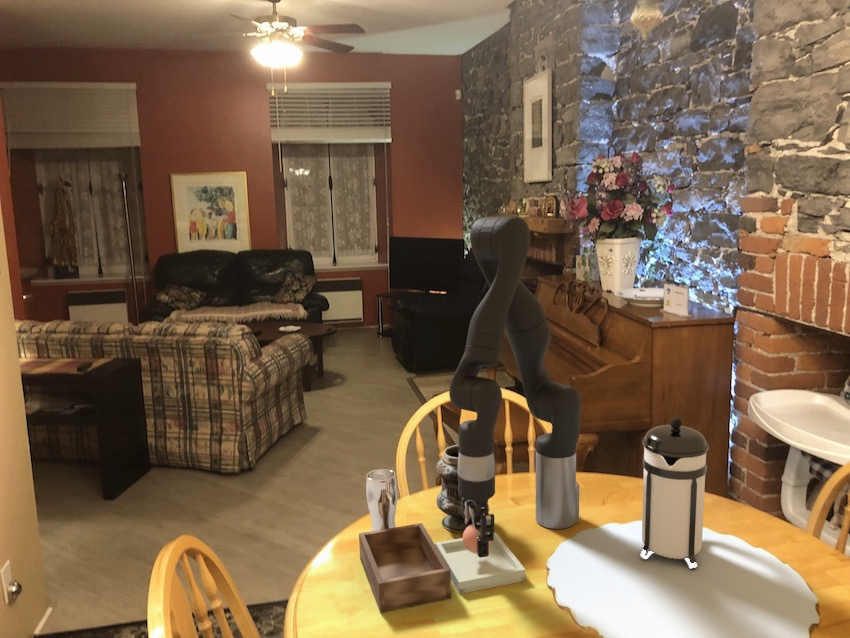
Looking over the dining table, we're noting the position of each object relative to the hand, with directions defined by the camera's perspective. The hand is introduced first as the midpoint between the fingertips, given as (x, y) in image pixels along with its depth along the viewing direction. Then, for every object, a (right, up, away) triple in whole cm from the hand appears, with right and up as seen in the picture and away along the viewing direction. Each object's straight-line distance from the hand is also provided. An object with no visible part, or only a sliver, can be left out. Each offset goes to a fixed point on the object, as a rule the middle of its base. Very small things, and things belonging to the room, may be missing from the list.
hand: (477, 548), depth 144 cm
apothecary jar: (-2, -1, +20) cm, 20 cm away
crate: (-15, -5, -2) cm, 16 cm away
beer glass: (-20, -2, +15) cm, 25 cm away
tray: (0, -4, +1) cm, 4 cm away
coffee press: (+42, -2, +5) cm, 42 cm away
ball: (0, +2, 0) cm, 2 cm away
